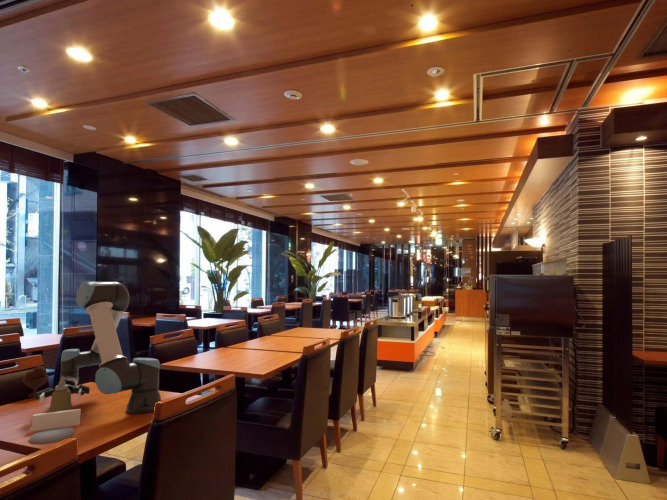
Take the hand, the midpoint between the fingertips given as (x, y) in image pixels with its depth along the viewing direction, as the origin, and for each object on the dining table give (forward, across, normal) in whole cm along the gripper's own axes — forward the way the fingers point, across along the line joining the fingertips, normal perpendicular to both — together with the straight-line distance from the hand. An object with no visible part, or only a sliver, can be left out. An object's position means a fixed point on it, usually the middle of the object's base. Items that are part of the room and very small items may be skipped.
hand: (60, 397), depth 169 cm
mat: (+18, 0, -10) cm, 21 cm away
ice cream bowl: (-53, +17, -10) cm, 57 cm away
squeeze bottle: (-3, 0, -10) cm, 11 cm away
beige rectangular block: (+7, 0, -10) cm, 12 cm away
